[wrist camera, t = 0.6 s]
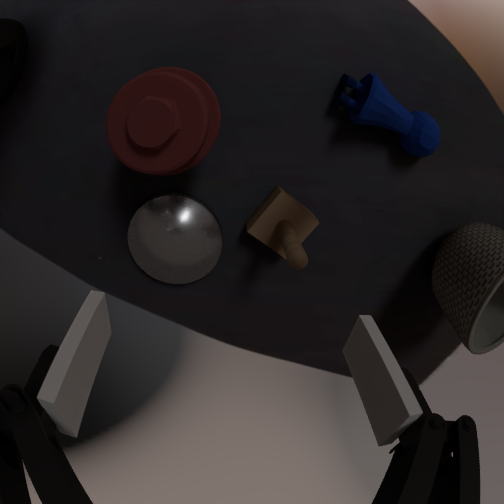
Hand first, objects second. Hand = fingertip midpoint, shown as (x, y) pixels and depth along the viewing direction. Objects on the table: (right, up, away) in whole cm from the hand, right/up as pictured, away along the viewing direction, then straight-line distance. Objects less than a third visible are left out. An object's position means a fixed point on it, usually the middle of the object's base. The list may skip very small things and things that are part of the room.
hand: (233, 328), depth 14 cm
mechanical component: (-7, +19, +16) cm, 26 cm away
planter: (+35, +4, +27) cm, 44 cm away
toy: (+18, +21, +17) cm, 32 cm away
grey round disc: (-9, +6, +22) cm, 25 cm away
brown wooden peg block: (+4, +8, +22) cm, 24 cm away
